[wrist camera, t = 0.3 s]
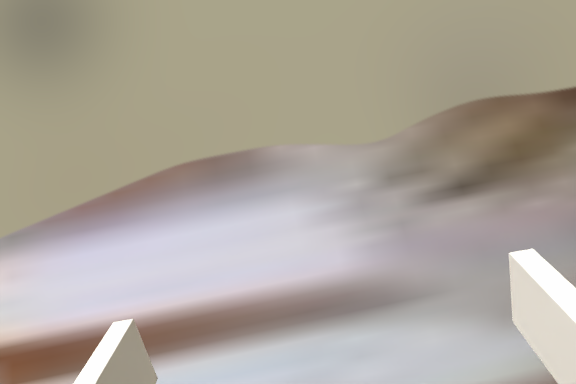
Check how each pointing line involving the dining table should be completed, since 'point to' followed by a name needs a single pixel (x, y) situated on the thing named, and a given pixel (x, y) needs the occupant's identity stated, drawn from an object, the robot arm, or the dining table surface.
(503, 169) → the dining table surface
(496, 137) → the dining table surface
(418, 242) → the dining table surface
